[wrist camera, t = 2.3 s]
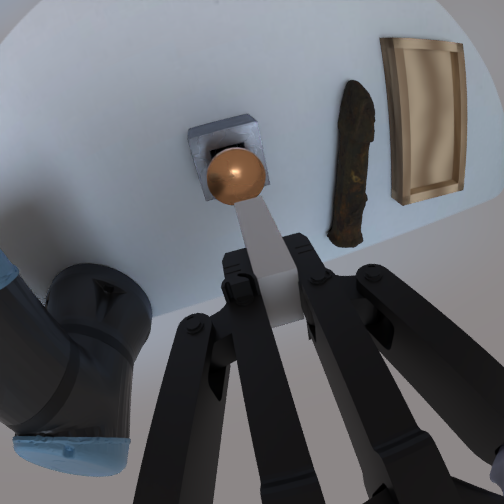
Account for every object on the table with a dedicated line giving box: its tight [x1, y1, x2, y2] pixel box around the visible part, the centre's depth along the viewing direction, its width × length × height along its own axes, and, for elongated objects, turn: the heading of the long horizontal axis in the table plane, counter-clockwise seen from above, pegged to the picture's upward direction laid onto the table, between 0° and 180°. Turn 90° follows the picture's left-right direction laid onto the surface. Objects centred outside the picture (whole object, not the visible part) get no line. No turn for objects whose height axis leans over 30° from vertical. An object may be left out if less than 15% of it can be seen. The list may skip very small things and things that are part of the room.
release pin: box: [206, 144, 266, 205], centre depth 26 cm, size 4×4×7 cm
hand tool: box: [327, 80, 375, 248], centre depth 32 cm, size 19×4×5 cm, turn 1°
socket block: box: [188, 114, 270, 201], centre depth 29 cm, size 6×6×5 cm
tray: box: [380, 38, 467, 206], centre depth 30 cm, size 11×20×3 cm, turn 12°
